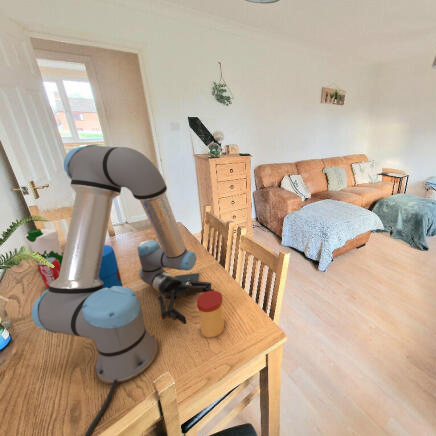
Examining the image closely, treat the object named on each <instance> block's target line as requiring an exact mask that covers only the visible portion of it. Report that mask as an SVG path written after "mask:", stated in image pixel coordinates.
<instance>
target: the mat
mask: <svg viewBox="0 0 436 436" xmlns="http://www.w3.org/2000/svg"><path fill="white" fill-rule="evenodd" d="M199 274H200V273H199V272H197V273H189V274H187V273H186V274H180V275H175V276H174V277H175V278H177V279H178V280H180V281H181V282H182V283H185V284H186V283H187V282H188V280H189V279H191V280H194V281H199ZM187 291H188V288H187ZM189 295H197V293H190V294H186V295H185V296H189Z"/></svg>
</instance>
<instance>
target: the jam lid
mask: <svg viewBox="0 0 436 436" xmlns="http://www.w3.org/2000/svg"><path fill="white" fill-rule="evenodd" d="M223 302H224V301H223V295H222V293H221V292H220V291H218V290H214V291H207V292H204V293H200V294H199V295H198V296H197V298H196V308H197V310H198V309H199V310H200V311H202V312H212V311H215V310H217V309H218V308H219V307H220V306H221V305H222V306H223ZM199 310H198V311H199Z"/></svg>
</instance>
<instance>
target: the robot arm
mask: <svg viewBox="0 0 436 436" xmlns="http://www.w3.org/2000/svg"><path fill="white" fill-rule="evenodd" d="M63 170H64V172H66V176H67V177H68V178H69V179H70V180H71V181H70V185H69V186H70V187H71V188H72V189H73V191H74V192H75V196H74V202H73V207H72V212H71V217H70V221H69V225H68V229H67V230H68V231H67V236H66V241H65V246H64V250H63V252H64V255H63V259H62V264H61V269H60V274H59V277H58V278H57V279H56V280H54V281H53V282H51V283H50V285H49V288H47V289H46V290H44V291H43V292H41V294H40V296H38V297H37V298H36V299H35V301H34V303H33V305H32V309H31V319H32V322H33V323H34V325H35V326H36V327H37V328H39V329H41V330H45V331H47V332H49V333H53V334H62V335H69V336H73V337H80V338H86V339H90V340H92V341H93V342H94V345H95V348H96V349H97V350H96V351H97V357H96V364H95V372H96V376H97V378H98V379H99V381H100V382H101V383H104V384H106V385H111V386H110V389H109V391H108V394H107V396H106V399H105V401H104V403H103V405H102V407H101V409H100V410H99V412H98V413H97V415H96V416H95V418H94V420H93V421H92V422H91V424H90V426H89V427H88V429H87V431H86V432H85V433H84V436H91V433H92V432H93V431H94V429H95V427H96V426H97V424H98V422H99V421H100V419H102V416H103V415H104V414H105V411H106V409H107V407H108V406H109V404H110V402H111V400H112V397H113V394H114V392H115V389H116V387H117V385H119V384H124V383H126V382H129V381H131V380H134V379H136V378H138V377H139V376H140V375H141V374H142V373H144V372H146V370H147V369H148V368H149V367H151V365H152V364H153V362H154V361H155V360H156V357H157V355H158V352H159V347H158V343H157V340H156V338H155V335H154V334H153V335H152V334H151V333H150V332H149V331H148V329H146V325H145V324H146V323H145V321H144V315H143V311H142V307H141V302H140V300H139V298H138V296H137V293H136V292H135V291H134V290H133V289H131V288H129V287H128V286H127V287H126V286H123V285H122V286H123V287H122V286H113V287H111V288H104V289H103V282H102V281H101V280H100V279H99V277H98V276H99V271H100V266H101V260H102V255H103V250H104V245H106V244H105V243H106V238H107V233H108V228H109V222H110V218H111V213H112V206H113V201H114V199H115V198H118V197H119V196H120V195H121V192H122V188H125V189H127V190H129V191H130V192H131V194H132V197H133V198H134V199H136V200H138V201H139V202H140V205H141V207H142V209H143V210H144V212H145V215H146V217H147V220H148V221H149V223H150V226H151V227H152V230H153V232H154V234H155V236H156V238H157V240H153V239H149V240H145V241H142V242H141V243H139V244H138V246H137V254H138V256H137V257H138V258H139V262H140V266H141V268H140V271H139V274H138V275H139V278H140V279H141V280H142V282H144V283H145V284H146V285H148V286H149V287H151V288H152V289H154V290H155V291H156V292H158V293H159V294H161V295H162V296H161V295H159V296H157V301H158V304H159V306H160V314H161V319H162V320H165V319H166V318H167V317H168V319H172V320H174V321H176V320H178V321H179V322H181V323H182V324H183V325H185V324H187V319H186V316H185V315H184V314H182V313H181V312H180V311H178V310H177V309H175V305H176V301H177V300H180V299H181V298H182V297H184V296H187V295H186V294H190V293H196V294H202V293H204V292H207V291H215V290H214V289H213V288H212V282H210V281H209V282H208V281H199V280H198V281H194V280H191V279H189V280H188V282H187V283H186V284H185V283H182V282H181V281H180V280H178V279H177V278H175V276H174V275H172V274H170V273H169V272H167V271H166V270H165V268H166V269H171V270H172V269H173V270H178V271H191V270H192V269H193V268H194V267H195V265H196V263H197V254H196V252H194V251H192V250H188V249H187V247H186V245H185V242H184V241H185V240H184V239H183V236H182V234H181V231H180V228H179V225H178V223H177V220H176V218H175V215H174V213H173V210H172V207H171V204H170V202H169V199H168V197H167V194H166V193H167V192H168V186H167V184H166V181H165V179H164V177H163V176H162V173H161V172H160V170H159V169H158V168H157V167H156V165H155V164H154V163H153V161H151V160H150V158H148V157H147V156H146V155H145V154H143V153H142V152H140V151H138V150H136V149H134V148H131V147H126V146H111V145H99V144H84V145H83V144H82V145H78V146H76V147H72V148H71V149H70V150H69V151H68V152H67V154H66V155H65V157H64V159H63ZM187 288H188V291H187ZM166 300H169V302H168V306H167V310H166V305H165V303H166V302H167V301H166Z"/></svg>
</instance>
